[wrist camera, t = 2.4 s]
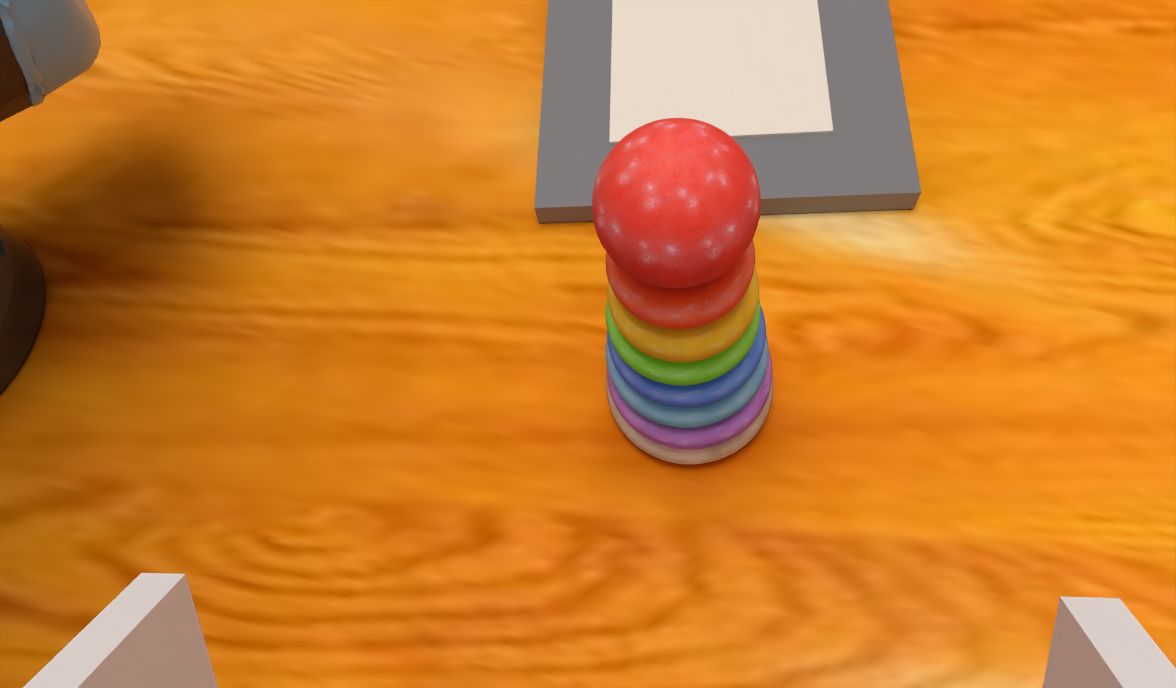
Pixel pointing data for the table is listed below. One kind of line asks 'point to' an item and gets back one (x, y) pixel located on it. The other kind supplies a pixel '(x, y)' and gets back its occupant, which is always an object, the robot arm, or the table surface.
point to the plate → (731, 96)
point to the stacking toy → (683, 291)
